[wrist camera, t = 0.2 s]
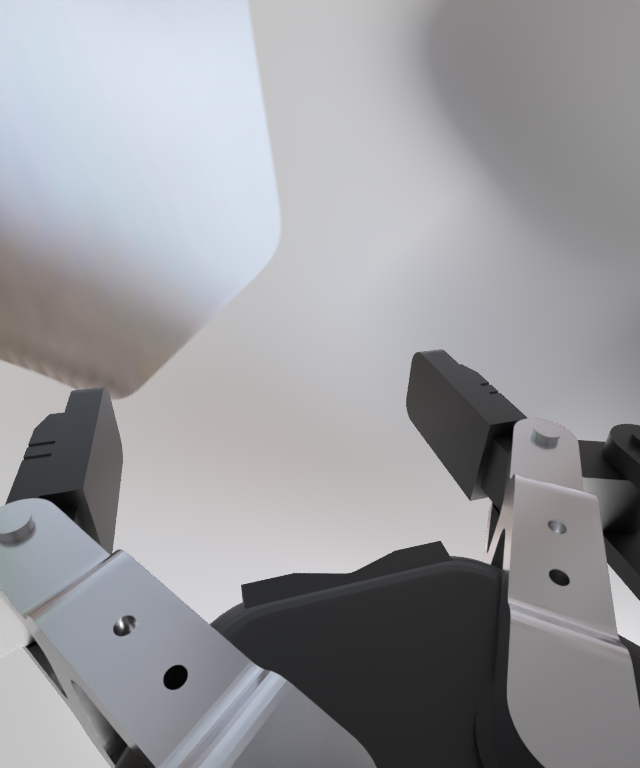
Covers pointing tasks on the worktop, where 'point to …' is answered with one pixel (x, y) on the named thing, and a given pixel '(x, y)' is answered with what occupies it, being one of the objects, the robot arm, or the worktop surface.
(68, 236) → the worktop surface
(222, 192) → the worktop surface
